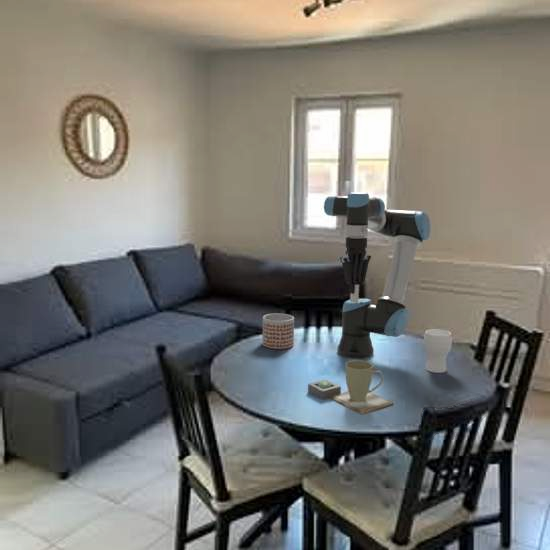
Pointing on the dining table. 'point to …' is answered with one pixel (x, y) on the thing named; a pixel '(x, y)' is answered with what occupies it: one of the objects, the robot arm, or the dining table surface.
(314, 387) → the button housing
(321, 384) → the button
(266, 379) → the dining table surface
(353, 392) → the mug
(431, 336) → the cup
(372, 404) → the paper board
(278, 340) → the planter
